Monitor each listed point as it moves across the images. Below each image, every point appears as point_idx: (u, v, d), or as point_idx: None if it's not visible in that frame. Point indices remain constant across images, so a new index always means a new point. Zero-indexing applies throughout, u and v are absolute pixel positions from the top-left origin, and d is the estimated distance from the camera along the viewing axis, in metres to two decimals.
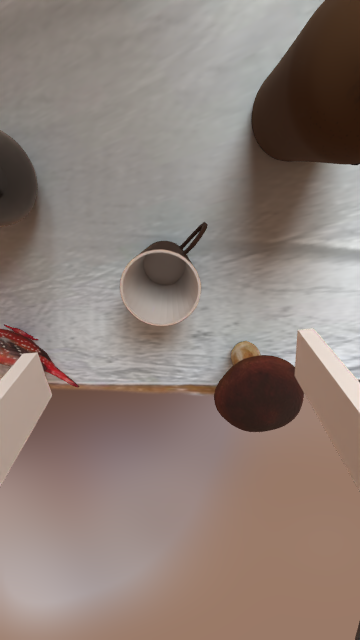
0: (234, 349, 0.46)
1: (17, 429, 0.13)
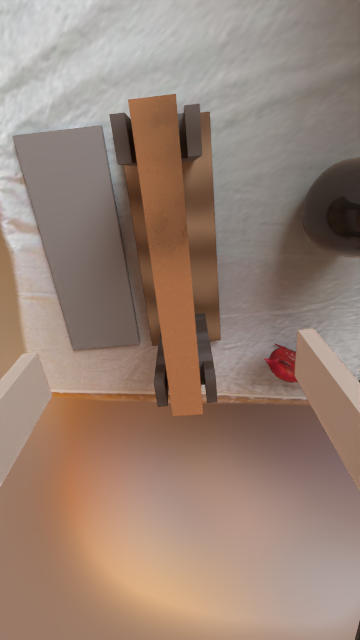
0: None
1: (16, 429, 0.13)
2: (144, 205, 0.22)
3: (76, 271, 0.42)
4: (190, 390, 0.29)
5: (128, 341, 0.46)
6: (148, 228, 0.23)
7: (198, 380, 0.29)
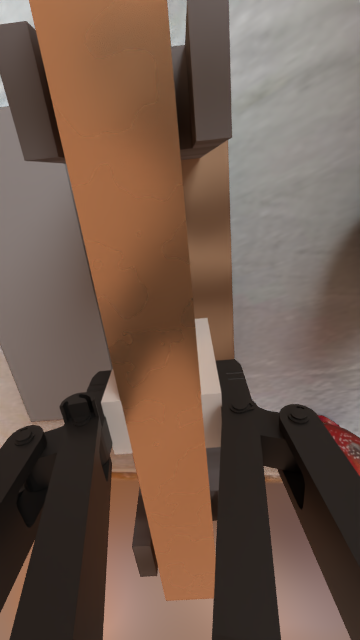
0: None
1: None
2: (91, 259, 0.09)
3: (27, 320, 0.29)
4: (197, 568, 0.16)
5: None
6: (104, 308, 0.10)
7: (212, 556, 0.16)
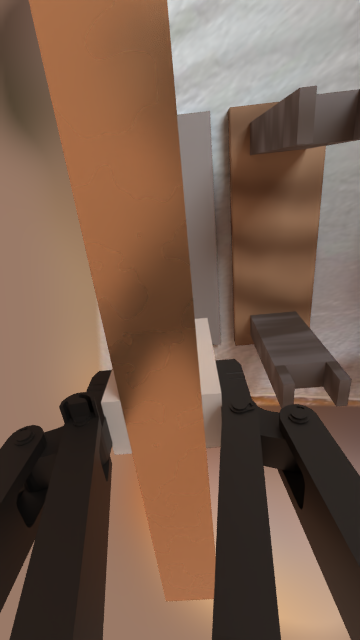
0: None
1: None
2: (91, 260, 0.09)
3: None
4: (197, 569, 0.16)
5: None
6: (104, 309, 0.10)
7: (212, 557, 0.16)
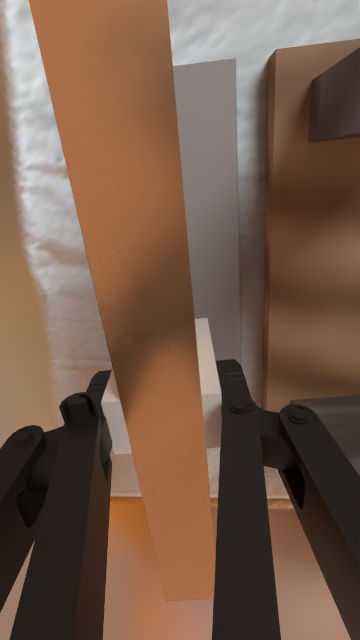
0: None
1: None
2: (91, 260, 0.09)
3: None
4: (197, 569, 0.16)
5: None
6: (104, 309, 0.10)
7: (212, 557, 0.16)
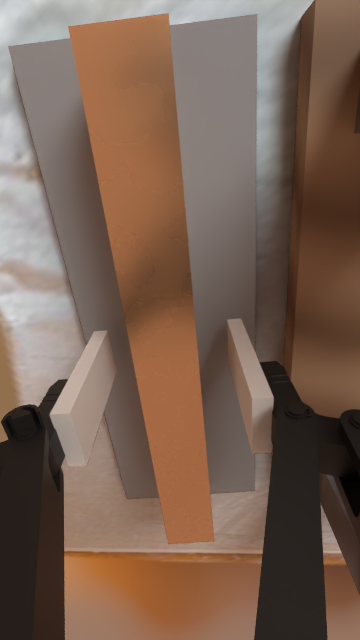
0: None
1: (100, 395, 0.15)
2: (112, 239, 0.12)
3: None
4: (195, 512, 0.19)
5: (234, 486, 0.24)
6: (121, 279, 0.13)
7: (207, 500, 0.19)
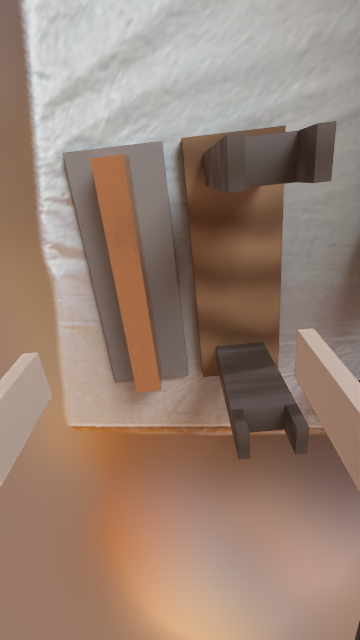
0: None
1: (17, 429, 0.13)
2: (105, 230, 0.31)
3: None
4: (149, 370, 0.37)
5: (176, 372, 0.42)
6: (109, 246, 0.31)
7: (154, 362, 0.37)
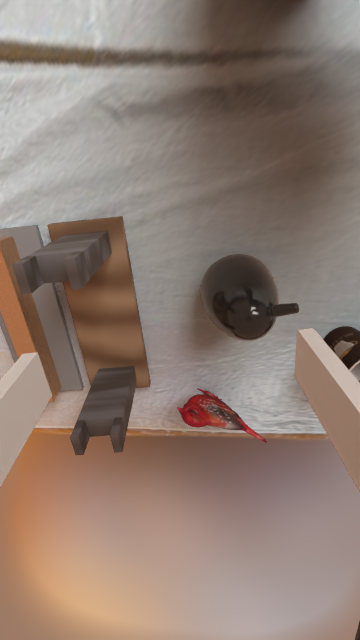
0: None
1: (17, 429, 0.13)
2: None
3: None
4: None
5: (72, 387, 0.55)
6: None
7: None
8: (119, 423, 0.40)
